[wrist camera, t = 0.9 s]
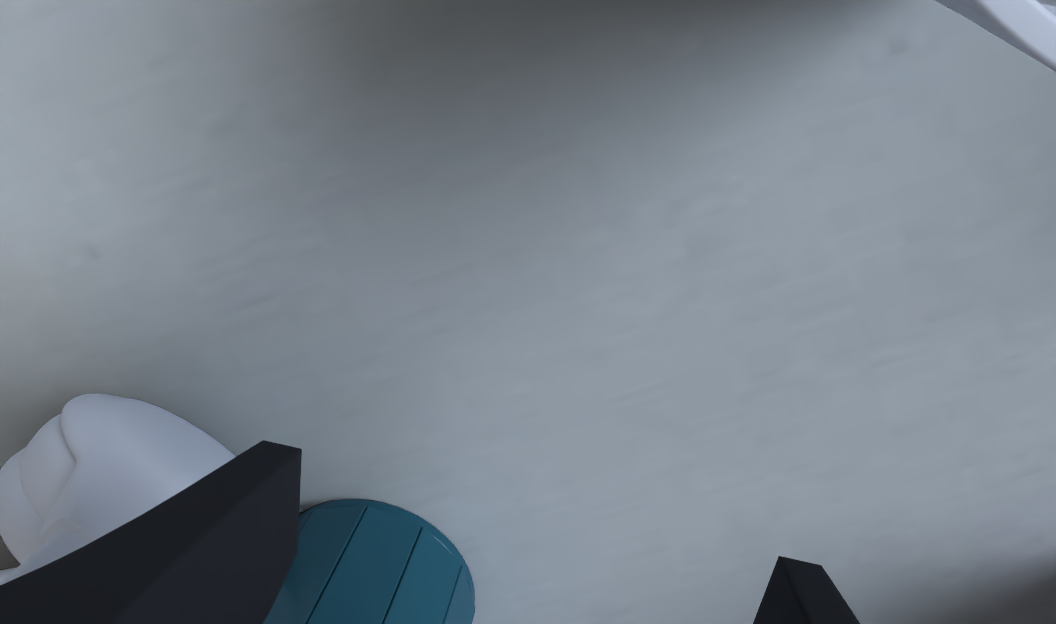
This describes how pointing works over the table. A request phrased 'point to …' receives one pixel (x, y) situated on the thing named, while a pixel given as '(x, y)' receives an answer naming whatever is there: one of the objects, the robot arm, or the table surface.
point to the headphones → (96, 475)
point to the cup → (1016, 23)
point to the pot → (373, 570)
